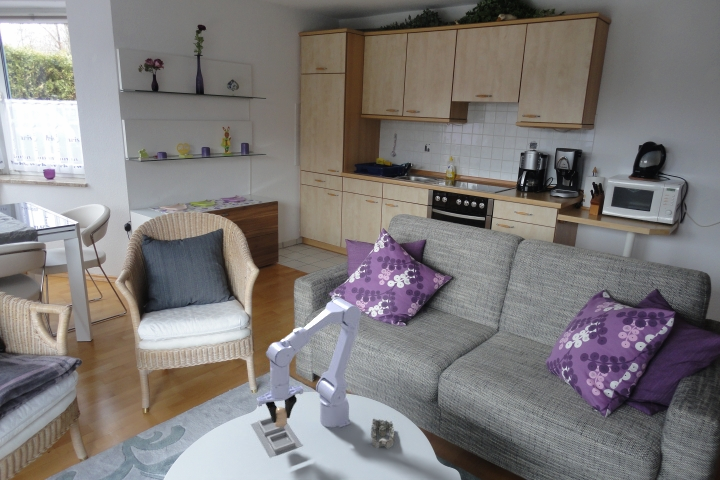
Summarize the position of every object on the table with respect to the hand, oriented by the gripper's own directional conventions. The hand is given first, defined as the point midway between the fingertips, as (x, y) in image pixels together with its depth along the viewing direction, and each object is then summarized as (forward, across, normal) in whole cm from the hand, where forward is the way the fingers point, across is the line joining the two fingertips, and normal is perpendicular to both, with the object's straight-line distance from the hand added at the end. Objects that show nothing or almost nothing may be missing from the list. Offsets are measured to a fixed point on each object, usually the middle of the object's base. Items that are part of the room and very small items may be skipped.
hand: (280, 418), depth 149 cm
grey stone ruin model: (+10, -30, +12) cm, 34 cm away
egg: (+2, 0, 0) cm, 2 cm away
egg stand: (+10, 0, -4) cm, 11 cm away
